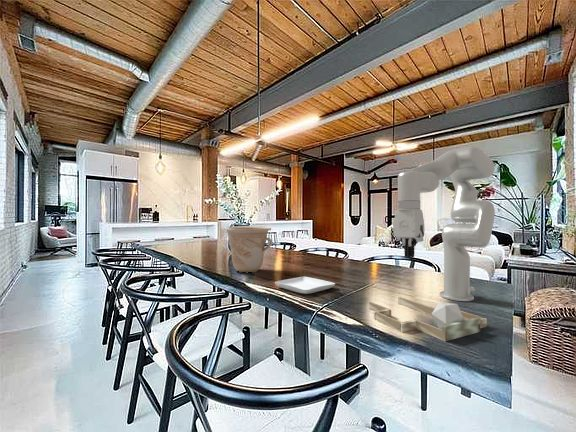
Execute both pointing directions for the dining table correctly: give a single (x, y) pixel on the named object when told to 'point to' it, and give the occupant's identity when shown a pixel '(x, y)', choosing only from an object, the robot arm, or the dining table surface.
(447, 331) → the channel
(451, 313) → the die
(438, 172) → the robot arm
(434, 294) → the dining table surface
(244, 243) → the vessel
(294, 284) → the salad plate
